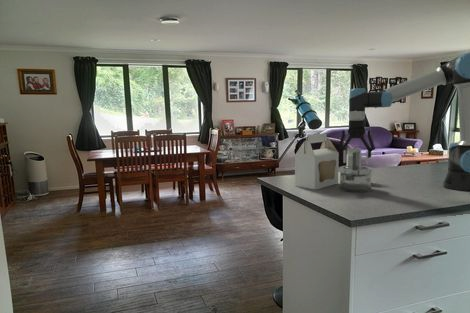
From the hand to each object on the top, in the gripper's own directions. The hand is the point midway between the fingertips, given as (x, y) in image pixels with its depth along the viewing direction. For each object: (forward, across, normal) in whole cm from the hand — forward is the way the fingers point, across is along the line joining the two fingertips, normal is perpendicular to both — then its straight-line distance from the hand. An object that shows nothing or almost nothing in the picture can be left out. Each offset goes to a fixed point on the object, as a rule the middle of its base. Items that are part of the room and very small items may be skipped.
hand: (355, 163), depth 175 cm
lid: (+4, 0, 0) cm, 4 cm away
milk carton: (+14, +6, -19) cm, 24 cm away
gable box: (+14, +21, -1) cm, 25 cm away
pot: (+13, 0, +3) cm, 14 cm away
